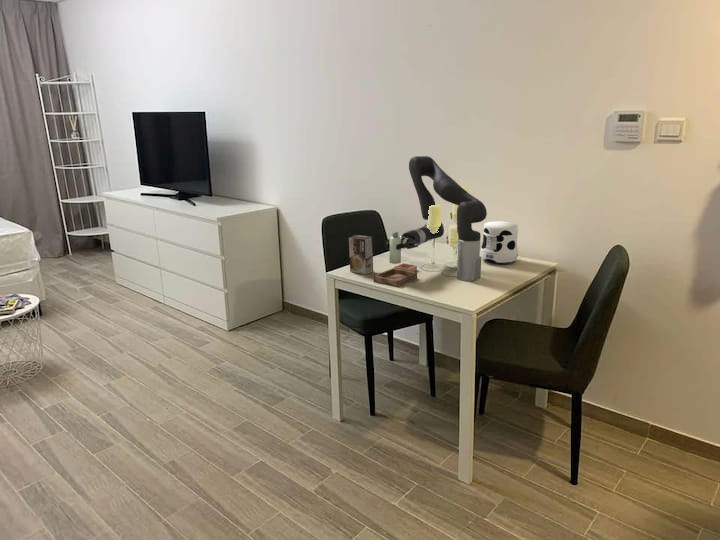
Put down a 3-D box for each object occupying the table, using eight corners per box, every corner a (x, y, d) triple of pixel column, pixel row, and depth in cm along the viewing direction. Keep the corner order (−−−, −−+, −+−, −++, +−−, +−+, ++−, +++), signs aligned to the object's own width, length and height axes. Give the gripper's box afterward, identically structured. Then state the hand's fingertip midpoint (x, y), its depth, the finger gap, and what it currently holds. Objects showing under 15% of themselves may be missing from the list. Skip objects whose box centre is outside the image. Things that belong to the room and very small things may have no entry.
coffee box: (373, 271, 246) (373, 236, 241) (365, 274, 241) (365, 239, 236) (357, 268, 251) (356, 234, 246) (349, 271, 246) (348, 237, 241)
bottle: (403, 261, 231) (403, 232, 227) (396, 264, 227) (396, 234, 223) (393, 260, 234) (393, 230, 230) (387, 262, 230) (387, 232, 226)
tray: (417, 278, 234) (417, 272, 234) (398, 286, 223) (398, 281, 223) (393, 273, 242) (393, 268, 241) (373, 281, 231) (373, 276, 230)
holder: (416, 270, 246) (416, 265, 245) (408, 274, 240) (408, 269, 240) (403, 267, 250) (403, 263, 250) (394, 271, 245) (394, 266, 244)
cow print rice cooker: (514, 257, 265) (516, 220, 260) (520, 266, 248) (523, 228, 243) (478, 256, 267) (480, 220, 262) (482, 266, 250) (484, 228, 245)
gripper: (400, 228, 242) (377, 235, 229) (427, 232, 234) (406, 240, 221) (400, 244, 244) (377, 252, 232) (427, 249, 236) (405, 257, 223)
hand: (391, 246), depth 226 cm, fingers closed on bottle, 4 cm apart
